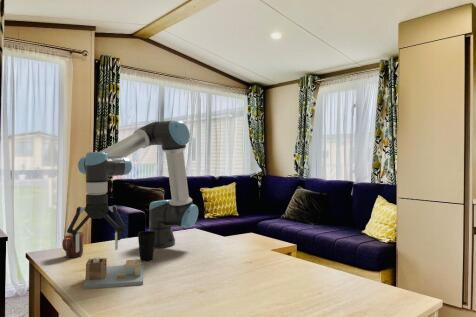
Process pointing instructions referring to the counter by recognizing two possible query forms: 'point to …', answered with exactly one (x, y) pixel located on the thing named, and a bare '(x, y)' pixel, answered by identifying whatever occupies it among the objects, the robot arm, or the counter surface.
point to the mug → (72, 245)
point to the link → (96, 269)
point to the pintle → (96, 260)
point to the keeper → (132, 264)
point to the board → (112, 278)
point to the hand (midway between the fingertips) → (97, 250)
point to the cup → (146, 245)
